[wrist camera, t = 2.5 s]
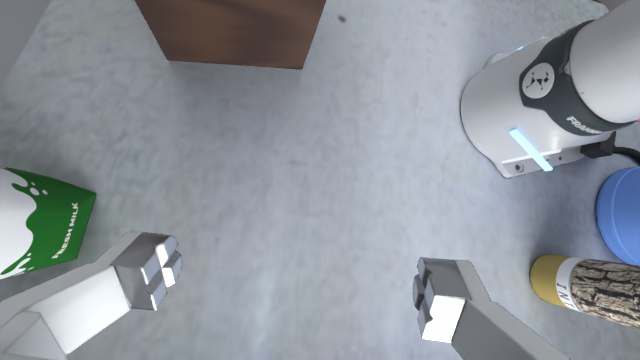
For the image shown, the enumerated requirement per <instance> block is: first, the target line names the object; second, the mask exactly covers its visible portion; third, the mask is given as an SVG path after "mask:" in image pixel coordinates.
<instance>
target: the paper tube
mask: <svg viewBox="0 0 640 360" xmlns="http://www.w3.org/2000/svg"><path fill="white" fill-rule="evenodd" d="M530 281H531V285H532V288H533V290H534V291H535V293H536V294H537V295H538V296H539V297H540V298H541V299H543V300H544V301H547V302H550V303H553V304H556V305H560V306H563V307H566V308H570V309H572V310H576V311H579V312H582V313H586V314H589V315H592V316H596V317H599V318H602V319H606V320H609V321H612V322H616V323H619V324H622V325H626V326H629V327H632V328H636V329H639V330H640V266H638V265H630V264H623V263H616V262H608V261H601V260H593V259H586V258H579V257H570V256H562V255H555V254H545V255H542V256H541V257H539V258H538V259H537V260H536V261H535V262H534V263H533V265H532V268H531V272H530Z"/></svg>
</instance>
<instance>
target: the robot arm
mask: <svg viewBox="0 0 640 360" xmlns="http://www.w3.org/2000/svg"><path fill="white" fill-rule="evenodd" d="M461 118H462V122H463V126H464V128H465V131H466V133H467V135H468V137H469V139H470V140H471V142H472V143H473V144H474V146H475V147H476V148H477V149H478V150H479V151H480V152H481V153H483V154H484V155H485V156H487V157H488V158H489V159H491V160H492V161H493V162H494V164H495V165H496V167H497V168H498V170H499V171H500V173H501V174H502V175H503V176H504V177H506V178H511V177H515V176H519V175H523V174H527V173H530V172H534V171H538V170H542V169H544V170H545V171H550V170H552V169H553V168H552V167H554V166H558V165H562V164H566V163H570V162H574V161H577V160H581V159H583V158H584V156H585V155H586V156H588V157H590V158H598V157H604V156H610V155H612V154H613V153H625V154H629V155H632V156H633V157H635V158H636V159H637V160H638V161H639V162H640V152H638V151H636V150H634V149H631V148H625V147H615V145H614V142H615V136H616V131H617V130H620V129H622V128H624V127H626V126H629V125H631V124H633V123H634V122H640V0H629V1H627V2H625V3H624V4H622V5H620V6H619V7H617V8H615V9H614V10H612V11H610V12H608V13H607V14H605V15H603V16H602V17H600V18H598V19H596V20H589V21H586V22H583V23H581V24H579V25H578V26H574V27H572V28H570V29H568V30H566V31H565V32H563V33H561V34H560V35H559V36H558V37H556V38H554V39H552V38H547V37H542V38H539V39H537V40H535V41H533V42H531V43H529V44H527V45H525V46H523V47H521V48H519V49H517V50H515V51H513V52H512V53H510V54H505V53H502V52H498V53H496V54H494V55H492V56H491V57H490V58H489V60H488V61H487V63H486V65H485V68H484V69H483V70H481V71H480V72H479V73H477V74H476V75H475V76H473V77H472V78H471V80H470V81H469V82H468V83H467V85H466V87H465V89H464V92H463V95H462V99H461ZM177 246H178V242H177V238H176V237H175V236H173V235H165V234H156V233H147V232H145V233H144V232H136V231H130V232H127V233H125V234H124V235H123V236H122V237H121V238H120V239H119V240H118V241H117V242H116V243H115V244H113V245H112V246H111V247H110V248H109V249H108V250H107V251H106V252H105V253H104V254H103V255H101V256H100V257H99V258H98V259H97V260H96V261H95V262H94V263H93V264H91V263H87V264H85V265H83V266H81V267H78V268H76V269H74V270H71V271H69V272H67V273H64V274H62V275H60V276H58V277H55V278H53V279H51V280H48V281H46V282H44V283H42V284H39V285H37V286H35V287H32V288H30V289H28V290H26V291H23V292H21V293H19V294H16V295H14V296H12V297H9V298H7V299H5V300H3V301H0V360H68V358H67V356H66V355H67V354H69V353H70V352H72V351H73V350H74V349H76V348H77V347H79V346H80V345H81V344H83V343H84V342H86V341H87V340H88V339H90V338H91V337H93V336H94V335H96V334H97V333H98V332H100V331H101V330H103V329H104V328H105V327H107V326H108V325H110V324H111V323H112V322H114V321H115V320H117V319H118V318H119V317H121V316H122V315H124V314H125V313H126V312H128V311H129V310H130V308H131V309H145V310H157V308H158V307H159V305H160V304H161V302H162V301H163V300H164V298H165V297H166V295H167V294H168V293H167V287H169V286H171V285H172V284H174V283H175V282H176V280H177V279H178V277H179V275H180V272H181V269H182V258H181V255H180V254H179V253H178V252H177V251H176V250H175V249H176V248H177ZM417 268H418V272H419V274H418V275H416V276H415V277H414V282H413V301H414V306H415V307H416V309H417V310H418V311H419V315H418V324H419V328H420V332H421V337H422V339H429V340H436V341H444V342H451V345H452V346H453V347H454V348H455V350H456V351H457V352H458V353H459V355H460V356H461V357H462V358H463V360H570V359H569V358H568V357H566V356H565V355H564V354H562V353H561V352H560V351H559V350H557V349H556V348H555V347H553V346H552V345H551V344H550V343H548V342H547V341H546V340H544V339H543V338H542V337H541V336H539V335H538V334H537V333H535V332H534V331H533V330H532V329H530V328H529V327H528V326H527V325H525V324H524V323H523V322H521V321H520V320H519V319H518V318H516V317H515V316H514V315H512V314H511V313H510V312H509V311H507V310H506V309H505V308H503V307H502V306H501V305H500V304H498V303H495V302H492V301H491V299H490V297H489V295H488V293H487V291H486V289H485V287H484V285H483V283H482V281H481V279H480V278H479V276H478V274H477V272H476V270H475V268H474V266H473V264H472V262H470V261H468V260H449V259H437V258H425V257H420V259H419V261H418V265H417Z"/></svg>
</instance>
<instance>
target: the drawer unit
mask: <svg viewBox="0 0 640 360" xmlns="http://www.w3.org/2000/svg"><path fill="white" fill-rule="evenodd" d="M135 2H136V3H137V5H138V7H139V9H140V11H141V13H142V14H143V16H144V18H145V20H146V22H147V24H148V25H149V27H150V29H151V31H152V33H153V35H154V36H155V38H156V40H157V42H158V44H159V45H160V47H161V49H162V51H163V53H164V55H165V56H166V58H167V60H173V61H188V62H202V63H216V64H231V65H245V66H260V67H274V68H288V69H302V68H303V65H304V62H305V60H306V57H307V54H308V51H309V48H310V45H311V43H312V40H313V37H314V34H315V31H316V28H317V25H318V23H319V20H320V17H321V14H322V11H323V8H324V5H325V3H326V0H135Z"/></svg>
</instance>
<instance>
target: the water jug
mask: <svg viewBox="0 0 640 360" xmlns="http://www.w3.org/2000/svg"><path fill="white" fill-rule="evenodd" d="M597 221H598V225H599V229H600V232H601V235H602V237H603V239H604V241H605V243H606V244H607V246H608V247H609V248H610V250H611V251H612V252H613V253H614V254H615V255H616V256H617V257H618V258H620V259H621V260H623V261H624V262H626V263H628V264H630V265H638V266H640V167H631V168H625V169H622V170H619V171H617V172H615V173H614V174H612V175H611V176H610V177H609V178H608V179H607V180H606V181H605V183H604V184H603V186H602V188H601V190H600V193H599V196H598V200H597Z"/></svg>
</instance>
